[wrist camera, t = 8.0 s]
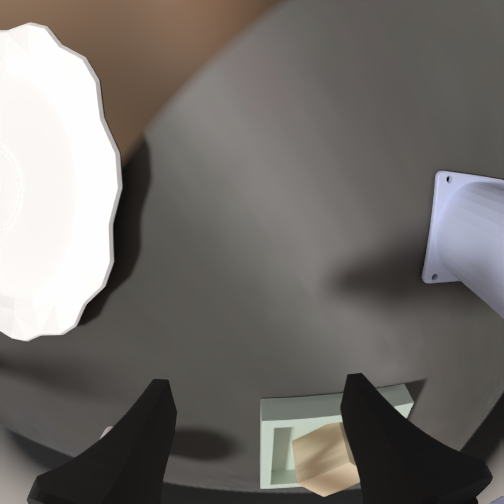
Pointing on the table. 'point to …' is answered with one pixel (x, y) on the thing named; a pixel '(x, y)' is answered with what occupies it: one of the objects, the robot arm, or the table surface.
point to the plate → (52, 184)
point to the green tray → (304, 428)
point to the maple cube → (325, 460)
